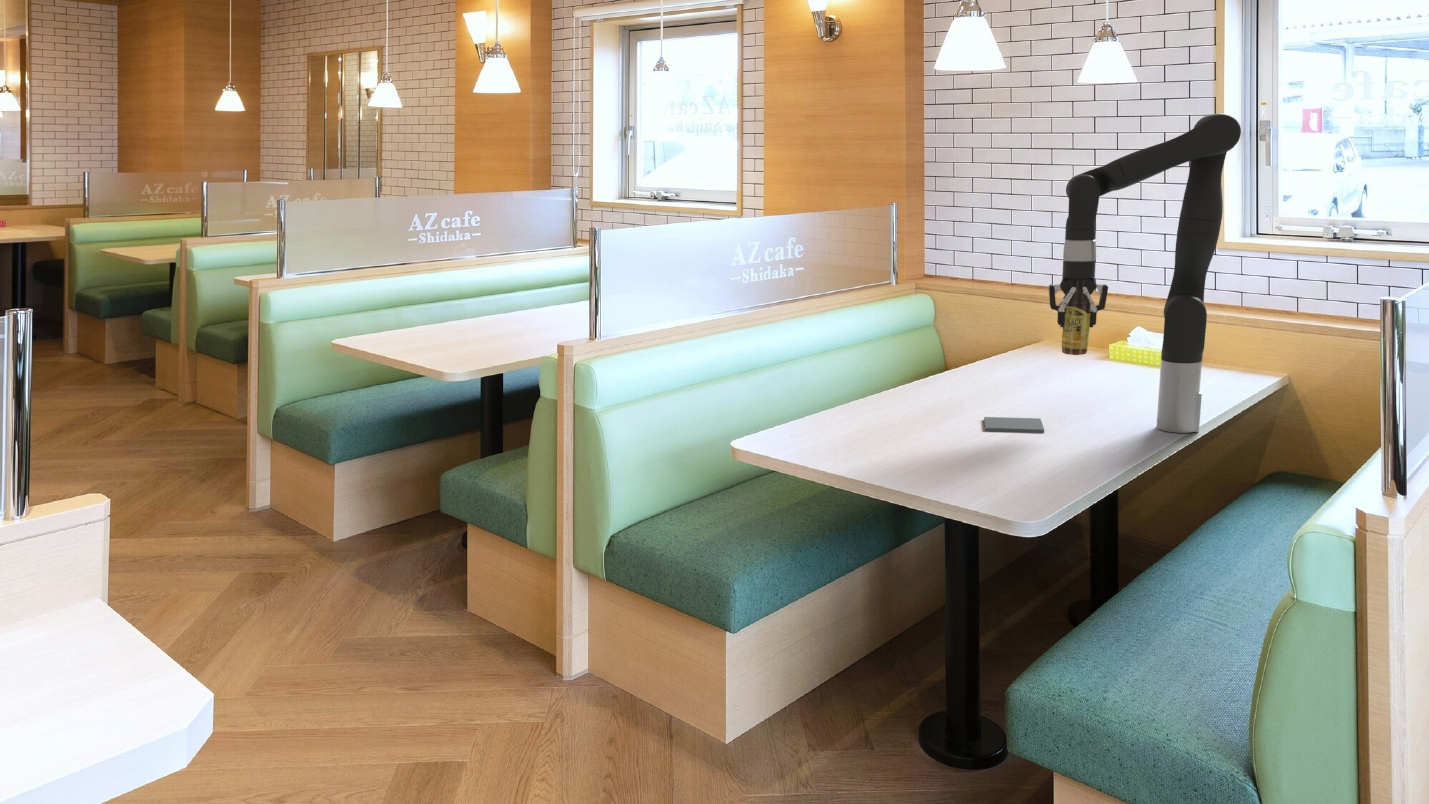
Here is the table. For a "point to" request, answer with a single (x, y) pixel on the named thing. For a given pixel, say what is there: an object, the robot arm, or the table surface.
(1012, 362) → the table surface
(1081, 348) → the sauce bottle
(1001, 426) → the placemat
